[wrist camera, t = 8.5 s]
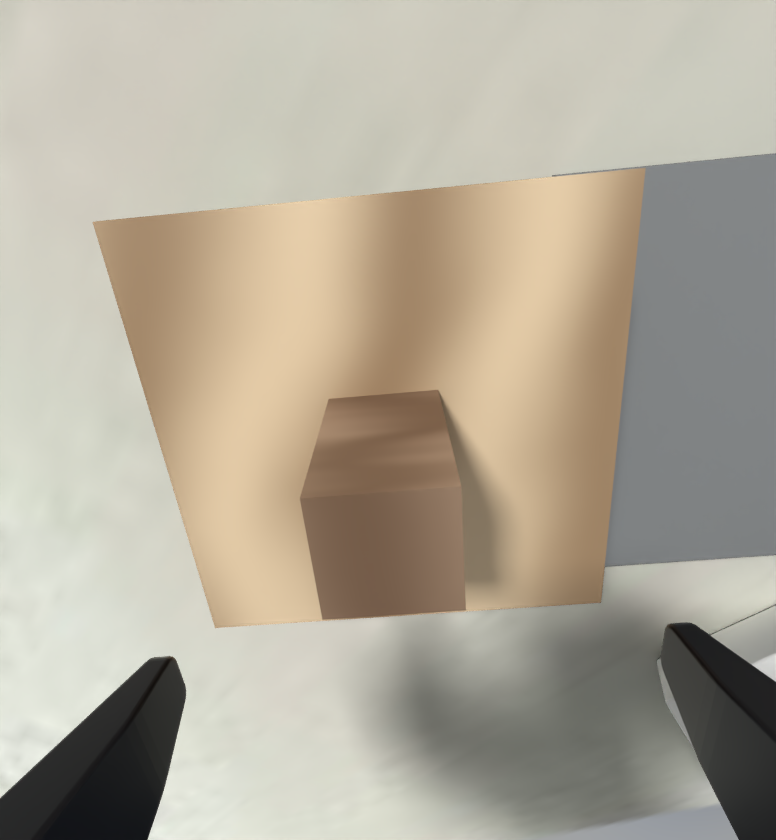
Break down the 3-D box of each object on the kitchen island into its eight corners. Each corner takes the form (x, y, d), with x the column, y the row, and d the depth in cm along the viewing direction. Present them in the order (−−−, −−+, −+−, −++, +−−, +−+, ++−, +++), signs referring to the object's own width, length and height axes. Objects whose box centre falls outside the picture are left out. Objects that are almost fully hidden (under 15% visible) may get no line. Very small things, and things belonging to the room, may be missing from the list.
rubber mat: (1062, 125, 16) (1082, 123, 16) (902, 538, 23) (913, 545, 22) (551, 175, 17) (556, 175, 16) (538, 563, 23) (541, 570, 23)
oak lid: (634, 168, 12) (806, 154, 7) (594, 589, 18) (677, 753, 13) (105, 220, 13) (-84, 240, 8) (220, 614, 18) (154, 781, 13)
